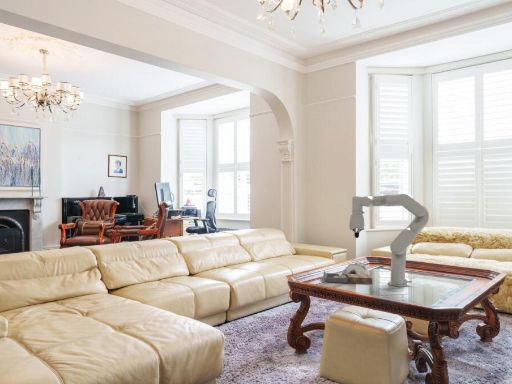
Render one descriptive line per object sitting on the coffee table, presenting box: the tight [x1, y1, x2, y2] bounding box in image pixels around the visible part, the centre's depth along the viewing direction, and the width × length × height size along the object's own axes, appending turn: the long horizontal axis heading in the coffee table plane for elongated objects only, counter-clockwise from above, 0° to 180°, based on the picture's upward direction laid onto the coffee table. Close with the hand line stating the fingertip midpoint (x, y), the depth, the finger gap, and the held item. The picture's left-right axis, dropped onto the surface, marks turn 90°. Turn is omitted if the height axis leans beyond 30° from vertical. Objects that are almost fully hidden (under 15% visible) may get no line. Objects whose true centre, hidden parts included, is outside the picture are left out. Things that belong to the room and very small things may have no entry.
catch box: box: [323, 270, 349, 284], centre depth 272 cm, size 15×14×5 cm
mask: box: [341, 260, 370, 276], centre depth 303 cm, size 20×9×30 cm
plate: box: [345, 273, 373, 285], centre depth 272 cm, size 16×12×4 cm
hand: (356, 237), depth 281 cm, fingers closed
